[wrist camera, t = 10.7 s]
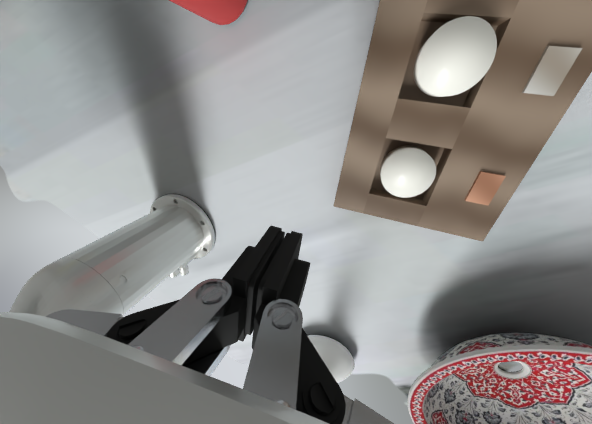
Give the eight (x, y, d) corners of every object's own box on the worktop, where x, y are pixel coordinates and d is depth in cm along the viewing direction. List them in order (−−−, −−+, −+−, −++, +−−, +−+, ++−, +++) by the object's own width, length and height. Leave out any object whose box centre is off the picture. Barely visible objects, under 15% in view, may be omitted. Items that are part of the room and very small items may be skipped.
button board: (471, 227, 26) (484, 242, 23) (336, 197, 29) (333, 207, 26) (751, -248, 12) (872, -358, 9) (428, -207, 15) (442, -280, 12)
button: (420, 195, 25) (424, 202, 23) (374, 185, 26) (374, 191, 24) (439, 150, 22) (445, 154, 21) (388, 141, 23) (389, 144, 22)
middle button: (465, 100, 19) (475, 100, 17) (405, 92, 20) (408, 92, 18) (497, 26, 17) (512, 18, 15) (426, 22, 18) (433, 13, 16)
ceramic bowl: (408, 404, 43) (416, 461, 36) (391, 289, 33) (397, 338, 26) (628, 441, 32) (698, 532, 26) (704, 287, 22) (856, 371, 15)
